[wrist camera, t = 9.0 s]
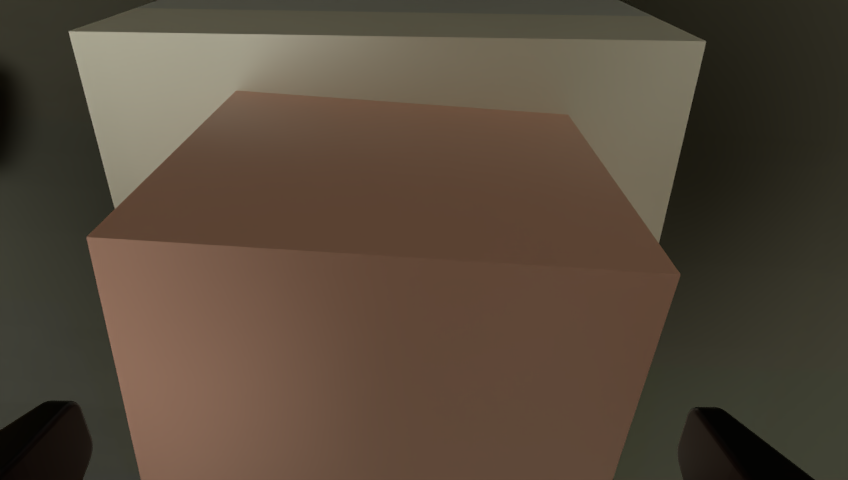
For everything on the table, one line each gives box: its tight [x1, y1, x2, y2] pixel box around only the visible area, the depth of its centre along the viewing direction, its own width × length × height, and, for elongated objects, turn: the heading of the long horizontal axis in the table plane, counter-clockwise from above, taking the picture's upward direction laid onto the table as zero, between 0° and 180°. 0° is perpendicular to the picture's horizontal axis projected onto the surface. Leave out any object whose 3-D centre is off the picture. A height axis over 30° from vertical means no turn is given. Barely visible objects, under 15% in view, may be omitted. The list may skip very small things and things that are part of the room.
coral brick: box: [86, 91, 681, 480], centre depth 10 cm, size 8×6×5 cm
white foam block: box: [69, 0, 706, 243], centre depth 14 cm, size 10×10×5 cm
